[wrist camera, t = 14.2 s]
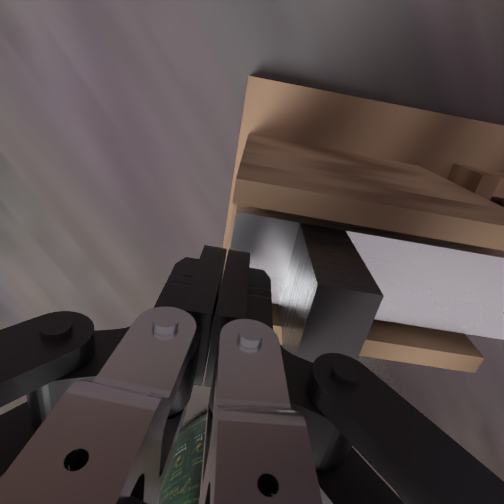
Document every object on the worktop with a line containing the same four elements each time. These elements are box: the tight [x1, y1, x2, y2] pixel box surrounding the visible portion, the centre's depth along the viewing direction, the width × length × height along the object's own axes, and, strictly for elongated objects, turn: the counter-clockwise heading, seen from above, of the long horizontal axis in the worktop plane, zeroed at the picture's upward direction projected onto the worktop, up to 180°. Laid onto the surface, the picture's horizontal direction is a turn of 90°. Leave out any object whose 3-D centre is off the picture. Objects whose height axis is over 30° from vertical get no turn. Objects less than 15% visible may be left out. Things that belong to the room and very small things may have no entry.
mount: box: [223, 76, 504, 373], centre depth 17 cm, size 22×12×12 cm, turn 80°
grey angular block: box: [230, 204, 504, 363], centre depth 11 cm, size 12×3×6 cm, turn 80°
